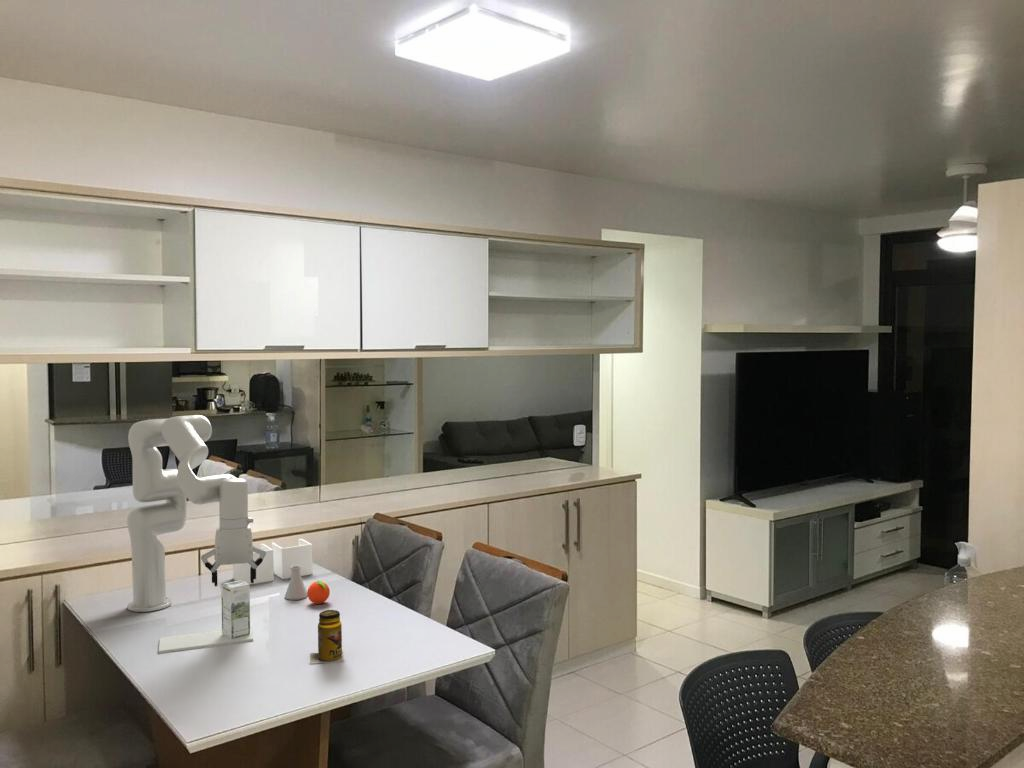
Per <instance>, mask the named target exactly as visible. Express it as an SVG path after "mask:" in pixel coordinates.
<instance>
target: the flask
mask: <svg viewBox="0 0 1024 768" xmlns="http://www.w3.org/2000/svg"><path fill="white" fill-rule="evenodd" d="M290 568H291V570H292V574H291V578H290V580H289V583H288V587H287V589H286V592H285V595H284V599H287V600H289V601H292V600H293V601H294V600H296V601H298V600H302V599H305V598H308V595H307V592H308V589H306V586H305V583H304V582H303V579H302V576H301V573H300V568H301V566H292V567H290Z"/></svg>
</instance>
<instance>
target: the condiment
mask: <svg viewBox="0 0 1024 768" xmlns="http://www.w3.org/2000/svg"><path fill="white" fill-rule="evenodd" d="M318 617H319V619H318V621H319V622H318V624H317V648H318V650H317V651H318V652H310V654H309V664H310V665H313V664H324V663H325V664H327V663H328V664H329V663H338V662H339V663H340V662H344V660H345V657H344V650H343V642H342V641H343V635H342V621H341V613H340V611H338V610H337V609H328V610H323V611H321V612H320V613H319V615H318Z"/></svg>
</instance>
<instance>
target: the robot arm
mask: <svg viewBox="0 0 1024 768" xmlns="http://www.w3.org/2000/svg"><path fill="white" fill-rule="evenodd" d="M212 428H213V427H212V425H211V423H210V420H209V419H208V418H207V417H206V416H204V415H201V414H192V415H187V414H186V415H178V416H170V417H169V418H152V419H151V418H150V419H145V420H141V421H137V422H134V423H133V424H132V425H131V427H130V428H129V430H128V437H127V439H128V441H127V442H128V447H129V448H130V452H131V457H132V494H133V498H134V499H135V501H137V502H138V503H152V502H159V501H165V502H164V503H158V504H156V503H155V504H150V505H145V506H140V507H137V508H134V509H133V510H132V511H130V512H129V514H128V516H127V518H126V524H127V529H128V533H129V539H130V548H131V550H130V552H131V573H132V574H131V577H132V601H131V602H129V603H128V604H127V609H128V610H129V611H130V612H136V613H145V612H147V613H148V612H155V611H158V610H162V609H163V610H164V609H165V608H168V607H169V606H171V605H172V599H171V598H170V597H167V588H166V587H167V586H166V585H167V584H166V583H167V581H166V579H167V578H166V555H165V553H166V551H165V548H164V545H163V543H161V541H160V540H159V539H158V537H157V536H160V535H164V534H169V533H173V532H174V533H175V532H178V531H180V530H182V529H183V528H184V527H185V525H186V522H187V500H188V501H189V502H191V503H192V504H193V505H206V504H211V503H218V502H219V506H218V507H219V514H218V515H219V527H217V528H216V530H215V537H214V548H213V549H212V550H210V551H207V552H206V553H204V554H203V555H201V556H200V560H201V562H202V563H203V565H204V567H205V568H207V569H208V570H209V571H210V572H211V583H212V584H213V585H214V587H218V570H217V569H218V568H219V567H221V566H228V565H229V566H230V565H231V566H232V565H233V564H243V563H249V564H250V565H251V567H250V581H251V583H254V579H256V568H257V567H258V566H259V565H260V564H261V563H262V561H263V559H264V557H265V555H266V551H264V550H262V549H260V547H257V546H254V543H253V534H252V528H251V525H250V524H251V523H252V524H253V523H254V517H250V516H249V515H248V514H249V513H248V512H249V509H248V508H249V507H248V506H249V505H248V503H249V501H248V500H249V497H248V496H249V491H248V489H249V487H248V486H249V485H248V481H247V480H246V479H244V478H240V477H236V476H235V475H233V474H230V473H224V474H216V475H215V474H214V475H207V476H200V477H198V476H197V475H196V474H195V473H194V472H193V470H194V469H196V468H197V467H198V466H200V465H201V464H203V463H204V461H205V460H206V459H207V458H208V455H209V448H208V445H206V444H205V442H207V441H208V440H209V439H210V438H211V436H212V433H213V429H212ZM157 447H169V449H170V450H171V451H172V453H173V454H174V455H175V457H176V458H177V460H178V461H179V463H178V466H177V468H166V469H163V456H162V454H161V452H160V450H159V449H158V448H157ZM253 552H255V553H258V554H260V556H259V558H258V559H257V560H256V561H254V560H253ZM213 556H214V557H213ZM211 557H213V558H214V560H215V561H214V562H213V563H211V562H210V561H209V558H211Z"/></svg>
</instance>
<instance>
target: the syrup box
mask: <svg viewBox="0 0 1024 768" xmlns="http://www.w3.org/2000/svg"><path fill="white" fill-rule="evenodd" d="M250 585H251V584H250ZM250 585H249V584H248V583H246V582H244V581H241V580H239V581H235V580H234V581H230V582H225V583H222V584H221V587H220V588H221V591H220V592H221V593H220V594H221V630H222V634H223V635H225V636H227V637H229V638H231V639H232V638H236V637H240V636H244V635H248V634H250V627H251V610H250V609H251V607H250V606H251V604H250V603H251V599H250V598H251V595H250V593H251V591H250V589H251V588H250Z"/></svg>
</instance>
